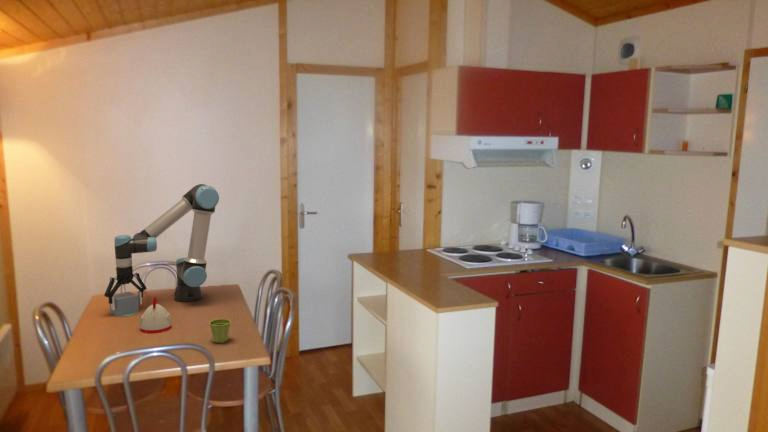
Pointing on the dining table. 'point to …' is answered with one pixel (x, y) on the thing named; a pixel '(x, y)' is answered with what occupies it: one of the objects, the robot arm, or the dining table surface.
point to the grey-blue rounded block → (125, 304)
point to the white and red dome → (155, 319)
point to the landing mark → (127, 314)
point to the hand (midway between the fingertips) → (126, 306)
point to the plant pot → (220, 329)
